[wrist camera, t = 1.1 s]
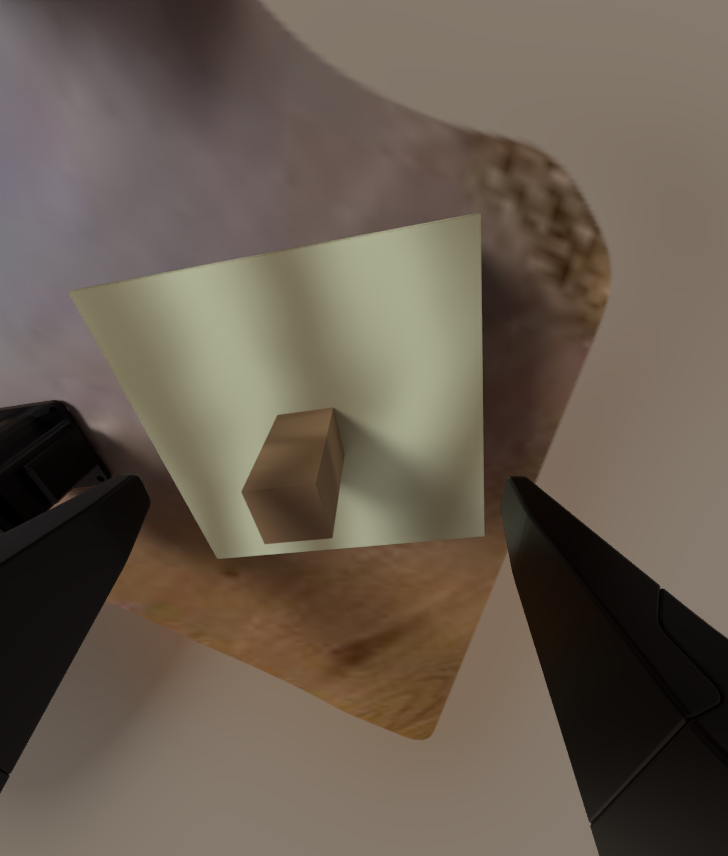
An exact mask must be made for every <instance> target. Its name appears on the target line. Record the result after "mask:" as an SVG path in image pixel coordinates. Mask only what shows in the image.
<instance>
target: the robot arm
mask: <svg viewBox="0 0 728 856" xmlns="http://www.w3.org/2000/svg"><path fill="white" fill-rule="evenodd" d="M55 408H56V409H57V410H56V409H55ZM94 485H97V486H95V487H93V488H91V489H89V490H87V491H85V492H83V493H81V494H79V495H78V496H76V497H74V498H72V499H70V500H68V501H66V502H64V503H62V504H60V505H58V506H56V507H54V508H52V507H53V506H54V505H55V504H56V503H58V502H59V501H60V500H61V499H62V498H63V497H64V496H65V495H66V494H67V493H68V492H69V491H71V490H72V489H73V488H76V487H85V486H94ZM150 505H151V499H150V496H149V494H148V492H147V489H146V487H145V485H144V483H143V481H142V479H141V477H140V476H139V475H137V474H119V475H117V476H115V477H113V478H111V475H110V473H109V471H108V470H107V468H106V467H105V465H104V464H103V462H102V461H101V459H100V458H99V456H98V455H97V453H96V452H95V450H94V449H93V447H92V446H91V444H90V443H89V441H88V440H87V438H86V437H85V435H84V434H83V432H82V431H81V429H80V428H79V426H78V425H77V423H76V422H75V420H74V419H73V417H72V416H71V414H70V413H69V411H68V410H67V408H66V407H65V405H64V404H63V403H61V402H60V401H57V400H51V401H44V402H38V403H31V404H24V405H18V406H11V407H4V408H0V793H1V791H2V789H3V787H4V786H5V784H6V782H7V780H8V778H9V774H10V773H11V772H12V770H13V769H14V767H15V765H16V763H17V761H18V759H19V758H20V756H21V754H22V752H23V750H24V748H25V747H26V745H27V743H28V741H29V739H30V737H31V736H32V734H33V732H34V730H35V728H36V726H37V725H38V723H39V721H40V719H41V717H42V716H43V714H44V712H45V710H46V708H47V706H48V705H49V703H50V701H51V699H52V697H53V695H54V694H55V692H56V690H57V688H58V686H59V685H60V683H61V681H62V679H63V677H64V675H65V674H66V672H67V670H68V668H69V666H70V664H71V663H72V661H73V659H74V657H75V655H76V654H77V652H78V650H79V648H80V646H81V644H82V643H83V641H84V639H85V637H86V635H87V633H88V632H89V630H90V628H91V626H92V624H93V623H94V620H95V619H96V617H97V615H98V613H99V611H100V610H101V608H102V606H103V604H104V602H105V601H106V599H107V597H108V595H109V593H110V591H111V590H112V588H113V586H114V584H115V582H116V581H117V579H118V577H119V575H120V573H121V571H122V570H123V568H124V566H125V564H126V562H127V560H128V557H129V555H130V553H131V551H132V548H133V546H134V544H135V541H136V539H137V537H138V534H139V532H140V530H141V527H142V525H143V523H144V520H145V518H146V515H147V513H148V511H149V508H150ZM50 508H52V509H50ZM49 509H50V510H49ZM501 514H502V519H503V525H504V530H505V536H506V541H507V547H508V552H509V557H510V563H511V567H512V573H513V576H514V580H515V584H516V587H517V590H518V593H519V596H520V600H521V603H522V606H523V609H524V613H525V615H526V619H527V622H528V626H529V629H530V632H531V635H532V638H533V642H534V645H535V648H536V651H537V655H538V658H539V661H540V664H541V667H542V671H543V674H544V677H545V681H546V684H547V687H548V690H549V694H550V697H551V700H552V703H553V707H554V710H555V713H556V716H557V719H558V722H559V726H560V729H561V732H562V735H563V739H564V742H565V745H566V749H567V752H568V755H569V758H570V761H571V765H572V768H573V771H574V775H575V778H576V781H577V784H578V787H579V791H580V794H581V797H582V800H583V804H584V807H585V810H586V813H587V817H588V820H589V822H590V823H591V826H590V827H591V830H592V833H593V837H594V840H595V843H596V847H597V850H598V853H599V856H728V638H726V637H725V636H723V635H722V634H721V633H720V632H718V631H717V630H715V629H714V628H713V627H712V626H710V625H709V624H708V623H707V622H705V621H704V620H703V619H701V618H700V617H699V616H698V615H696V614H695V613H694V612H692V611H691V610H690V609H688V608H687V607H686V606H685V605H683V604H682V603H681V602H680V601H679V600H677V599H676V598H675V597H674V596H672V595H671V594H670V593H669V592H668V591H666V590H665V589H660V585H659V584H657V583H656V582H655V581H653V579H651V578H650V577H649V576H648V575H646V574H645V573H644V572H642V571H641V570H640V569H639V568H638V567H636V566H635V565H634V564H632V562H630V561H629V560H628V559H627V558H625V557H624V556H623V555H622V554H620V553H619V552H618V551H617V550H615V549H614V548H613V547H612V546H611V545H609V544H608V543H607V542H606V541H604V540H603V539H602V538H601V537H600V536H598V535H597V534H596V533H595V532H593V531H592V530H591V529H590V528H588V527H587V526H586V525H585V524H583V523H582V522H581V521H580V520H579V519H577V518H576V517H575V516H574V515H572V514H571V513H570V512H569V511H567V510H566V509H565V508H564V507H562V506H561V505H560V504H559V503H558V502H556V501H555V500H554V499H553V498H551V497H550V496H549V495H548V494H546V493H545V492H544V491H543V490H542V489H540V488H539V487H538V486H537V485H535V484H534V483H533V482H532V481H531V480H529V479H528V478H526V477H519V476H510V477H508V478H507V479H506V481H505V485H504V490H503V496H502V501H501Z"/></svg>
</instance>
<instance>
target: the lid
mask: <svg viewBox="0 0 728 856" xmlns="http://www.w3.org/2000/svg"><path fill="white" fill-rule="evenodd" d="M68 293H69V294H70V296H71V298H72V300H73V301H74V303H75V305H76V307H77V309H78V310H79V312H80V314H81V316H82V318H83V319H84V321H85V323H86V325H87V326H88V328H89V330H90V332H91V334H92V335H93V337H94V339H95V341H96V343H97V344H98V346H99V348H100V350H101V352H102V353H103V355H104V357H105V359H106V360H107V362H108V364H109V366H110V368H111V369H112V371H113V373H114V375H115V377H116V378H117V380H118V382H119V384H120V386H121V387H122V389H123V391H124V393H125V394H126V396H127V398H128V400H129V402H130V403H131V405H132V407H133V409H134V411H135V412H136V414H137V416H138V418H139V420H140V421H141V423H142V425H143V427H144V428H145V430H146V432H147V434H148V436H149V437H150V439H151V441H152V443H153V445H154V446H155V448H156V450H157V452H158V454H159V455H160V457H161V459H162V461H163V462H164V464H165V466H166V468H167V470H168V471H169V473H170V475H171V477H172V479H173V480H174V482H175V484H176V486H177V487H178V489H179V491H180V493H181V495H182V496H183V498H184V500H185V502H186V504H187V505H188V507H189V509H190V511H191V513H192V514H193V516H194V518H195V520H196V521H197V523H198V525H199V527H200V529H201V530H202V532H203V534H204V536H205V538H206V539H207V541H208V543H209V545H210V547H211V548H212V550H213V552H214V554H215V555H216V557H217V559H223V558H235V557H247V556H259V555H270V554H282V553H294V552H306V551H317V550H329V549H341V548H353V547H364V546H376V545H388V544H400V543H411V542H423V541H435V540H447V539H458V538H470V537H482V536H484V456H483V367H482V278H481V214H478V213H475V214H470V215H465V216H459V217H454V218H449V219H443V220H438V221H433V222H428V223H422V224H417V225H412V226H407V227H401V228H396V229H391V230H386V231H380V232H375V233H370V234H365V235H359V236H354V237H349V238H344V239H338V240H333V241H328V242H323V243H317V244H312V245H307V246H302V247H296V248H291V249H286V250H280V251H275V252H270V253H265V254H259V255H254V256H249V257H244V258H238V259H233V260H228V261H223V262H217V263H212V264H207V265H202V266H196V267H191V268H186V269H181V270H175V271H170V272H165V273H160V274H154V275H149V276H144V277H139V278H133V279H128V280H123V281H117V282H112V283H107V284H102V285H96V286H91V287H86V288H81V289H77V290H74V291H71V292H68Z"/></svg>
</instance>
